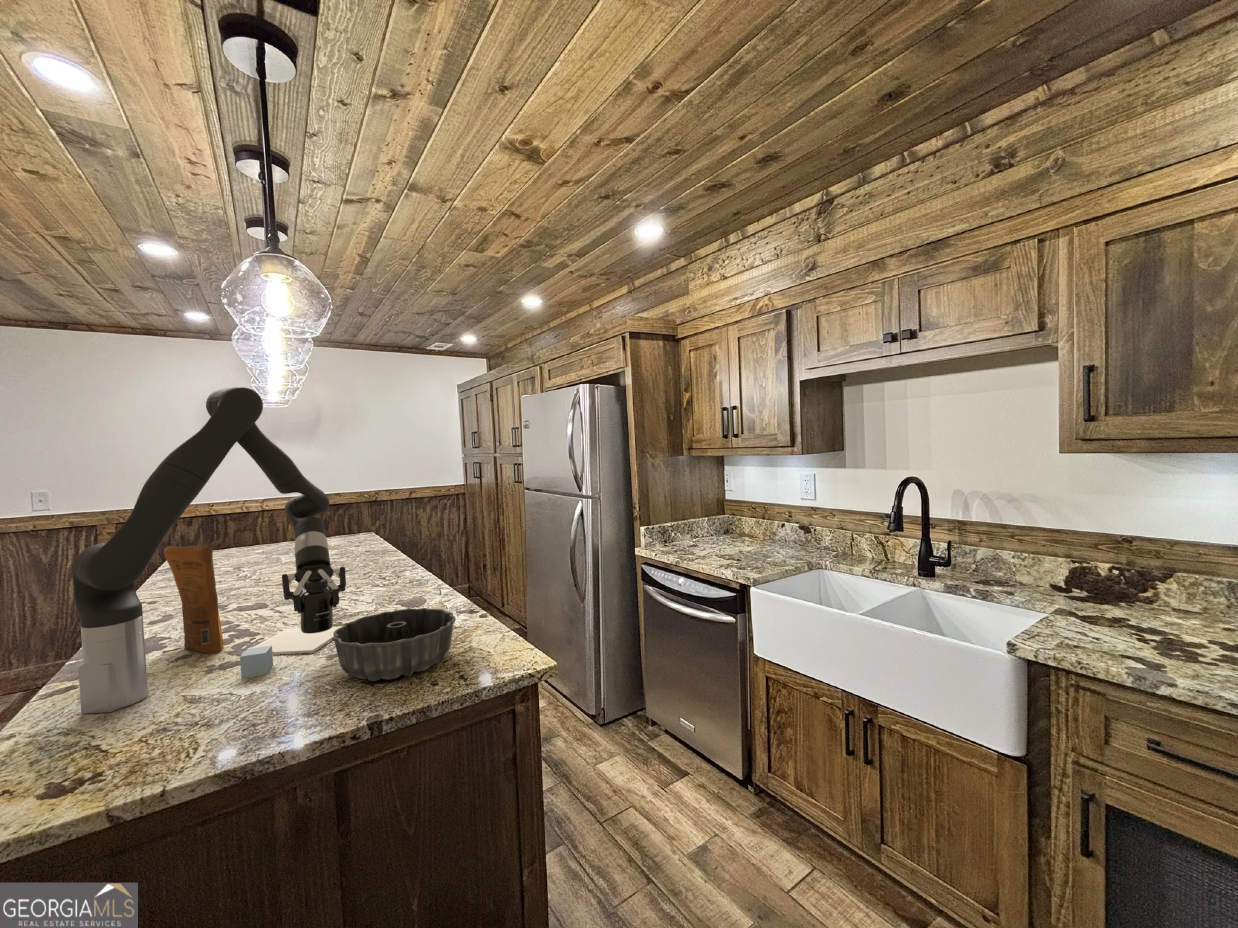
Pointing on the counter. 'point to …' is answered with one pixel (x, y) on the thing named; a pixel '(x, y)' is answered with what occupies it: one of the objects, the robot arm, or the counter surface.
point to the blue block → (256, 661)
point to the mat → (297, 641)
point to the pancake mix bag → (197, 596)
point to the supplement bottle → (316, 607)
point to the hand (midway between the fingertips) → (317, 608)
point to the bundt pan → (394, 643)
